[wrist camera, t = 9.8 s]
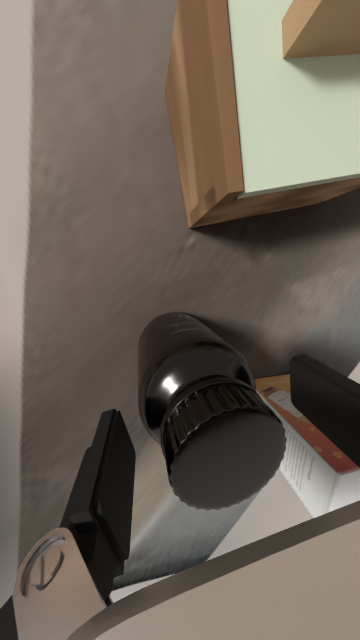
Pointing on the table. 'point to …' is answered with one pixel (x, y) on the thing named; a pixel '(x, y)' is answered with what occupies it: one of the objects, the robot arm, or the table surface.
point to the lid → (296, 91)
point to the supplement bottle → (205, 413)
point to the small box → (310, 454)
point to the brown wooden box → (216, 124)
